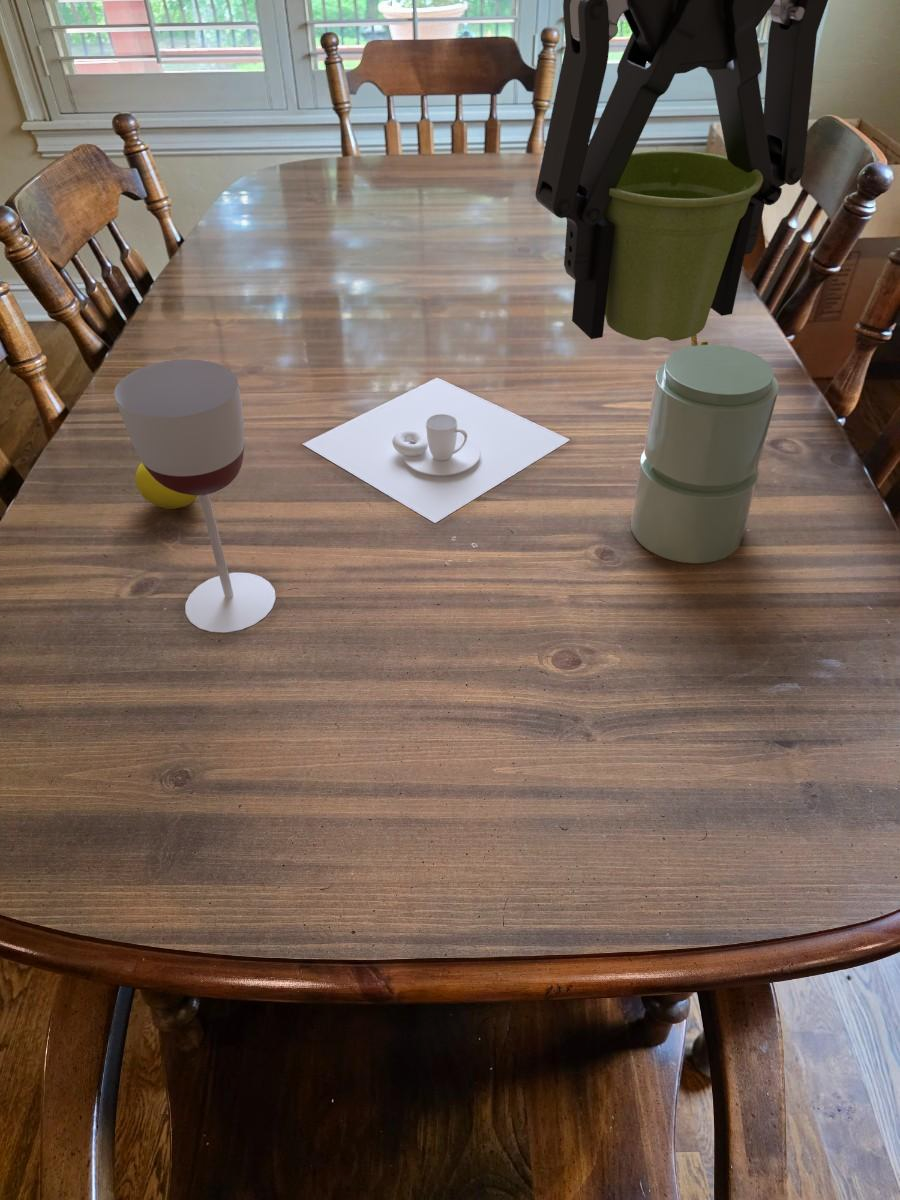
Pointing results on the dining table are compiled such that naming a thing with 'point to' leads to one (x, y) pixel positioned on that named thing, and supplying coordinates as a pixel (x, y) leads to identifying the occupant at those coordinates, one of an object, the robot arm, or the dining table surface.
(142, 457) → the wineglass
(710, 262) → the plant pot
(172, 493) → the lemon
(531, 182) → the dining table surface
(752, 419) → the cup stack
